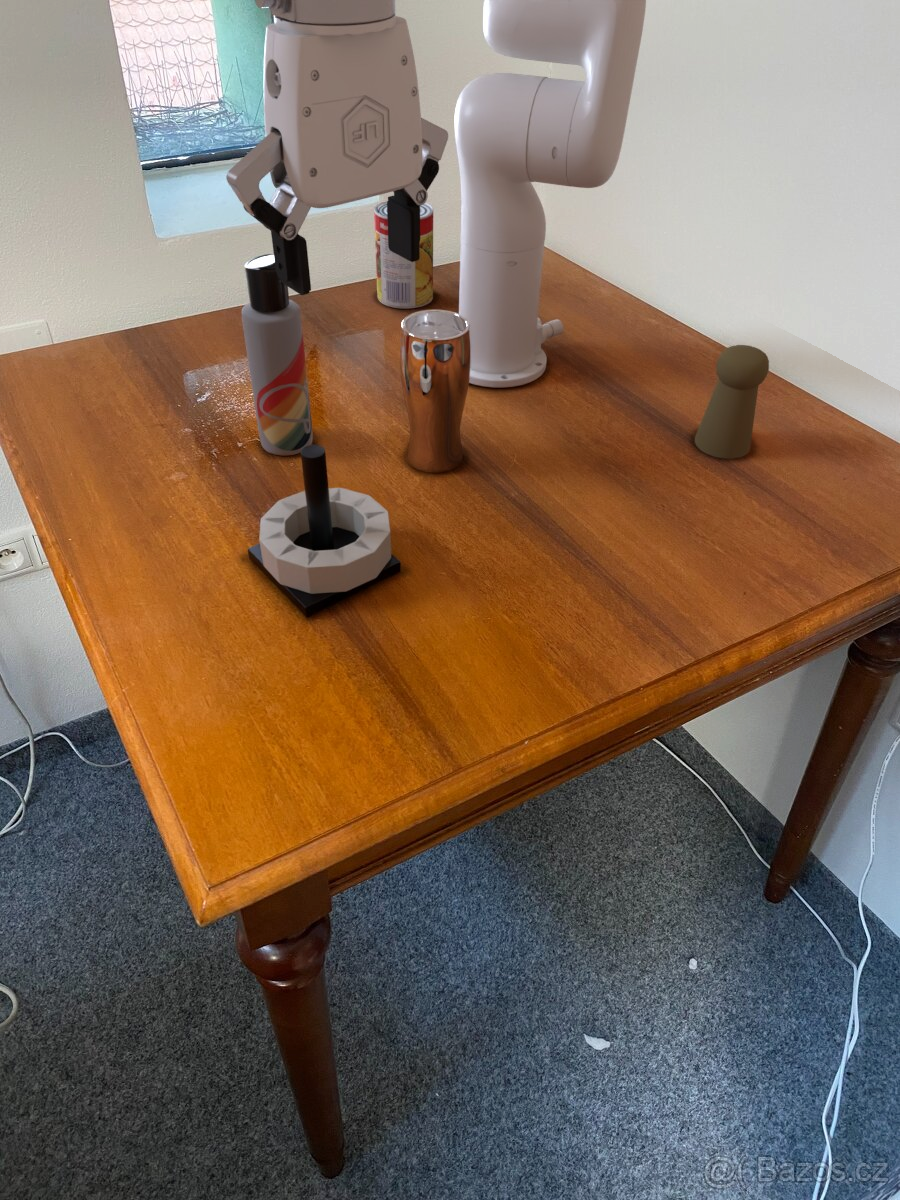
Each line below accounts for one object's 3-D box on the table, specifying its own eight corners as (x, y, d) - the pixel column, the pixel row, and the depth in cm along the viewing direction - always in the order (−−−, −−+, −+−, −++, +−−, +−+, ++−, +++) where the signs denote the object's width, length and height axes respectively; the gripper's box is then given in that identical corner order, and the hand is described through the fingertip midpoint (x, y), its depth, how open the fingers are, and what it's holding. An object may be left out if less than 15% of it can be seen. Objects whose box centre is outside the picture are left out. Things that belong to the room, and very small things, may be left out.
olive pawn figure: (754, 437, 98) (781, 344, 90) (744, 464, 94) (771, 369, 86) (701, 424, 100) (723, 333, 92) (688, 450, 95) (710, 356, 88)
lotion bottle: (303, 460, 93) (283, 272, 79) (252, 453, 93) (223, 266, 80) (320, 432, 97) (303, 250, 83) (271, 426, 98) (246, 244, 84)
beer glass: (475, 447, 95) (481, 314, 85) (454, 481, 90) (458, 345, 80) (415, 434, 97) (414, 303, 87) (392, 468, 92) (388, 333, 82)
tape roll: (347, 500, 85) (345, 474, 83) (414, 560, 79) (414, 534, 77) (241, 542, 80) (237, 516, 78) (304, 611, 74) (300, 584, 72)
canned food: (435, 287, 127) (436, 200, 118) (429, 310, 121) (430, 220, 113) (381, 284, 127) (378, 197, 119) (373, 307, 121) (369, 217, 113)
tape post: (340, 518, 85) (330, 407, 77) (401, 571, 79) (398, 457, 71) (248, 558, 80) (228, 444, 72) (306, 617, 75) (291, 501, 67)
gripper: (237, 22, 47) (276, 321, 59) (481, -9, 55) (473, 259, 67) (175, 1, 52) (223, 284, 63) (410, -25, 60) (414, 230, 71)
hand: (351, 271), depth 65 cm, fingers open, 9 cm apart
